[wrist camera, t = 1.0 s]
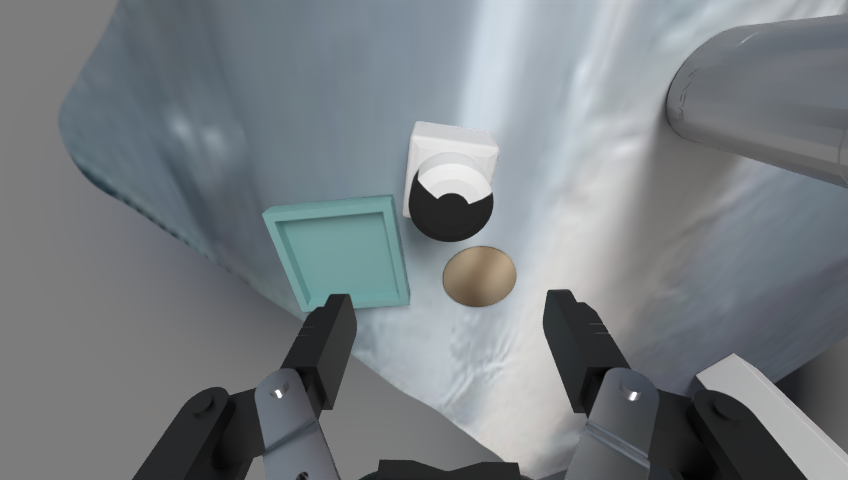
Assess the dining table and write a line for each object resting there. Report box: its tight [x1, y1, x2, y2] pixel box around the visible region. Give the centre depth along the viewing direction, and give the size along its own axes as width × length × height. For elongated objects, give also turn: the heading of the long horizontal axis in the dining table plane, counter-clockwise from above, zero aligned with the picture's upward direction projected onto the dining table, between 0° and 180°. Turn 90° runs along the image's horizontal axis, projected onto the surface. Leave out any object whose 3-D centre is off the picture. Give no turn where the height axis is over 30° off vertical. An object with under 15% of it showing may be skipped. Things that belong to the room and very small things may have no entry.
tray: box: [262, 195, 410, 312], centre depth 37 cm, size 14×14×2 cm
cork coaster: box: [443, 246, 516, 307], centre depth 39 cm, size 9×9×1 cm
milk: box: [696, 354, 848, 480], centre depth 37 cm, size 6×6×22 cm
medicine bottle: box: [402, 121, 500, 242], centre depth 27 cm, size 7×7×12 cm
